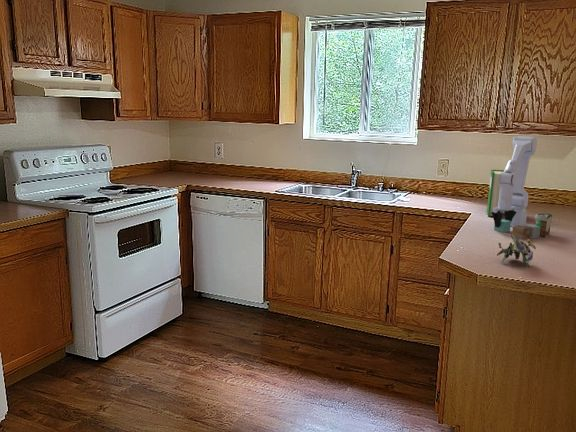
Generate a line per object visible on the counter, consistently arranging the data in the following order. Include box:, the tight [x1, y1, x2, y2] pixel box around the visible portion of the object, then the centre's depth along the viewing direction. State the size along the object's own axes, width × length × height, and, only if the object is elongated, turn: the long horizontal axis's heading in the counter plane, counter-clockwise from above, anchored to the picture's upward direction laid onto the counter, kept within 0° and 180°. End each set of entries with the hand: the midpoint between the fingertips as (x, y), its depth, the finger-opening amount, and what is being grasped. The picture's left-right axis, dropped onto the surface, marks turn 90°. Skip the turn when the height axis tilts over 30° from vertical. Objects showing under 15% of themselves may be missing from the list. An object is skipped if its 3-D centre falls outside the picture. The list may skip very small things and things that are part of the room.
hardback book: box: [486, 169, 505, 219], centre depth 282 cm, size 18×7×24 cm, turn 161°
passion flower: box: [496, 233, 537, 268], centre depth 188 cm, size 13×12×14 cm
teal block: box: [493, 218, 512, 233], centre depth 244 cm, size 5×5×5 cm
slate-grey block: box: [524, 224, 541, 239], centre depth 233 cm, size 5×5×5 cm
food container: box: [534, 211, 553, 239], centre depth 236 cm, size 12×6×10 cm, turn 143°
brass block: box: [511, 225, 530, 240], centre depth 230 cm, size 5×5×5 cm
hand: (502, 226), depth 244 cm, fingers open, 7 cm apart
